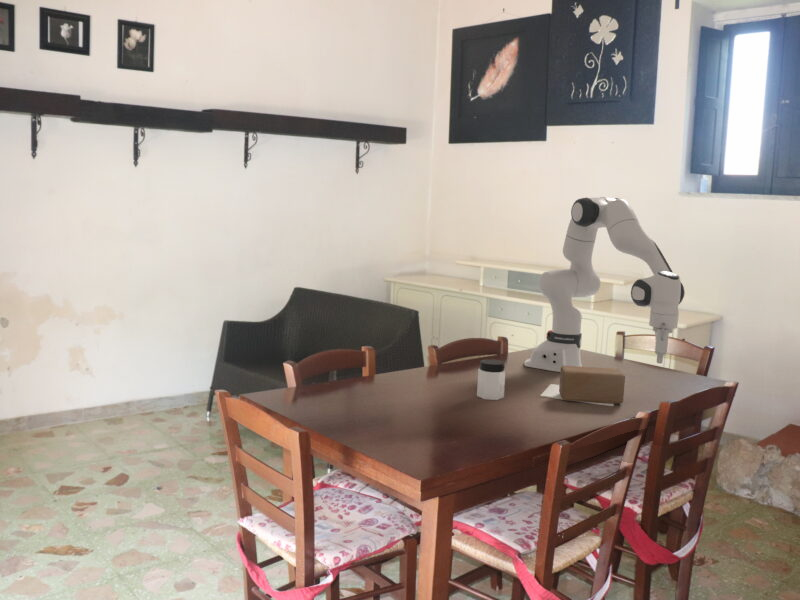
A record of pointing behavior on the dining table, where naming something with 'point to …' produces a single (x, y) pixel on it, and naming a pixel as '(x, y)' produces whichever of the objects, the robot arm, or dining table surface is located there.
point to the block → (591, 384)
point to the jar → (491, 379)
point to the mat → (554, 393)
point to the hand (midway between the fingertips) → (659, 362)
